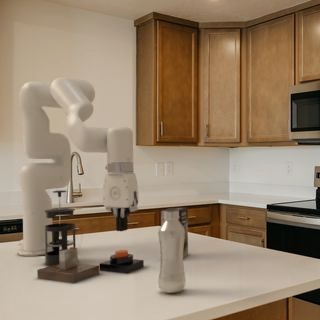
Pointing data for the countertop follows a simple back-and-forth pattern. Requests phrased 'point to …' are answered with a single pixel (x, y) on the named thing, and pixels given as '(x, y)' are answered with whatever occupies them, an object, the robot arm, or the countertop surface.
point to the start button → (121, 253)
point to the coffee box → (184, 221)
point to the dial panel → (68, 273)
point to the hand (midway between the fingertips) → (122, 230)
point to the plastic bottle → (171, 253)
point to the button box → (121, 264)
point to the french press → (56, 243)
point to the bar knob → (68, 258)
